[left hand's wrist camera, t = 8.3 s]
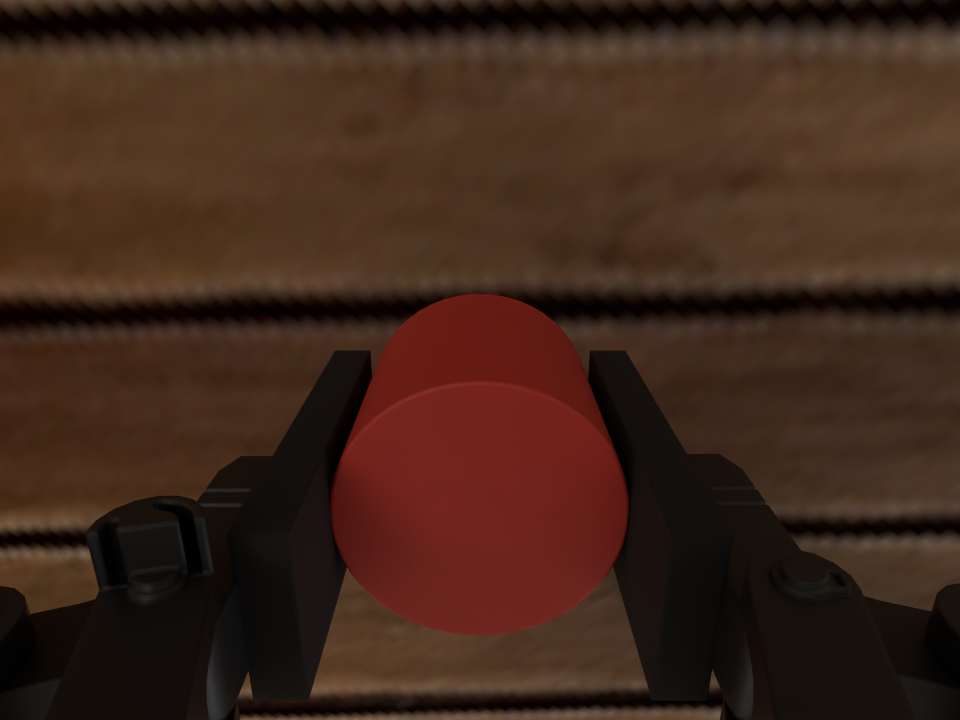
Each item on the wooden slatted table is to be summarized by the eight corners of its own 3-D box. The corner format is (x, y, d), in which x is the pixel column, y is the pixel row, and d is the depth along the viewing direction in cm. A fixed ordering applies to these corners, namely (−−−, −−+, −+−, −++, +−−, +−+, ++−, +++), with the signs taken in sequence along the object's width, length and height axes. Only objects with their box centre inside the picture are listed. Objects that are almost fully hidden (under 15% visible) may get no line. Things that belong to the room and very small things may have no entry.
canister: (385, 490, 16) (348, 642, 11) (362, 299, 14) (307, 389, 10) (585, 481, 16) (626, 631, 11) (585, 287, 14) (635, 373, 9)
